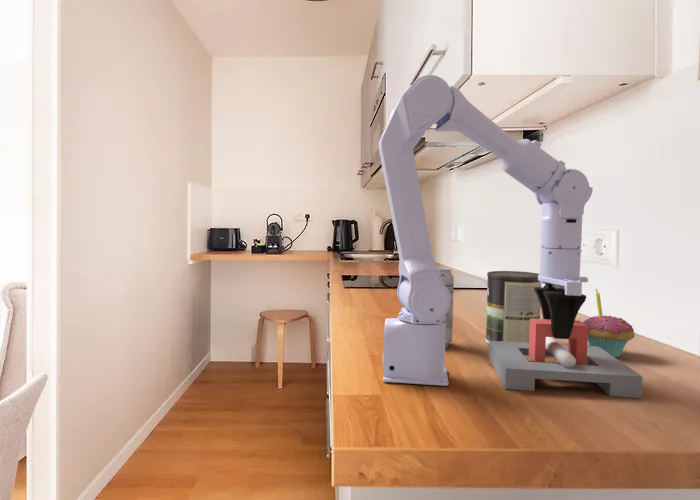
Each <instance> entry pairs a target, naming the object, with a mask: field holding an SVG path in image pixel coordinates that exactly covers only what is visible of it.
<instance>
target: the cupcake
mask: <svg viewBox="0 0 700 500" xmlns="http://www.w3.org/2000/svg"><path fill="white" fill-rule="evenodd" d="M595 291H596V292H595V299H596V307H597V313H598V315H597V316H595V315H594V316H590V317H589V318H587V319H586V318H585V320H583V322H582V323H584V324H586V325H588V346H598V347H600V348H601V349H603V350H604V351H606V352H607V353H609V354H610V355H612V356H613V357H615V358H619V357H621V356H622V353H623V351H624V348H625V346H626V344H627V343H628V342H629V341H631V340H632V339H635V330H634V328H633V325H631V324H630V323H628V321H627V320H625V319H623V318H622V317H616V316H611V315H603V309H602V302H601V301H602V300H601V294H600V293H599V292H598V289H597V288H595Z"/></svg>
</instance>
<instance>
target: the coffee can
mask: <svg viewBox="0 0 700 500" xmlns="http://www.w3.org/2000/svg"><path fill="white" fill-rule="evenodd" d="M486 274H487V275H486V276H487V283H486V284H487V293H486V325H485V326H486V327H485V328H486V329H485V340H484V341H485V343H487V344H488V345H489V341H506V342H525V343H529V331H530V319H541V305H540V302H539V299H538V297H537V295H536V293H535V290H534V287H542V283H540V281H538V275H540V273H536V272H530V271H521V270H520V271H517V270H494V271H493V270H491V271H487V273H486Z"/></svg>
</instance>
